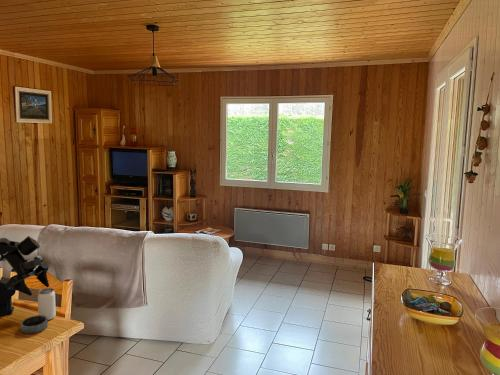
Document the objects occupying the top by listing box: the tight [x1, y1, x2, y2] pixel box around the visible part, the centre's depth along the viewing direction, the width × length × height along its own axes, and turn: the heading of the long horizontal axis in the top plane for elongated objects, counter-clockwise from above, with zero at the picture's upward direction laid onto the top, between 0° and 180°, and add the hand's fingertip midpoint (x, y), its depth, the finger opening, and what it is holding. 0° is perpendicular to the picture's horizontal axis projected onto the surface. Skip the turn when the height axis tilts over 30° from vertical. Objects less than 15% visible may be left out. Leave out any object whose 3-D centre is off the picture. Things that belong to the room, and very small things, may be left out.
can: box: [37, 287, 57, 321], centre depth 159 cm, size 6×6×12 cm
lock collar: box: [20, 315, 48, 335], centre depth 151 cm, size 9×9×3 cm
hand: (40, 290), depth 159 cm, fingers open, 9 cm apart
